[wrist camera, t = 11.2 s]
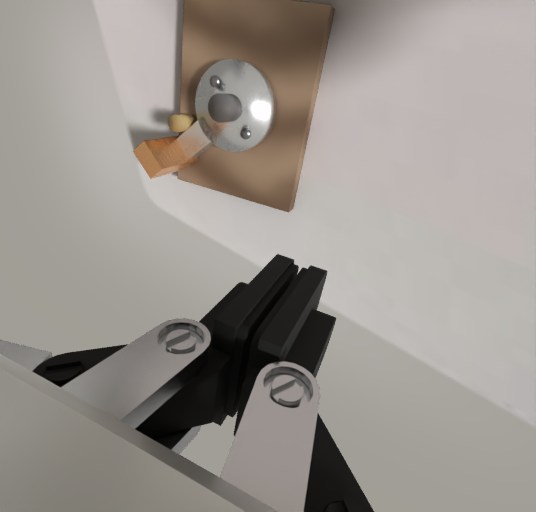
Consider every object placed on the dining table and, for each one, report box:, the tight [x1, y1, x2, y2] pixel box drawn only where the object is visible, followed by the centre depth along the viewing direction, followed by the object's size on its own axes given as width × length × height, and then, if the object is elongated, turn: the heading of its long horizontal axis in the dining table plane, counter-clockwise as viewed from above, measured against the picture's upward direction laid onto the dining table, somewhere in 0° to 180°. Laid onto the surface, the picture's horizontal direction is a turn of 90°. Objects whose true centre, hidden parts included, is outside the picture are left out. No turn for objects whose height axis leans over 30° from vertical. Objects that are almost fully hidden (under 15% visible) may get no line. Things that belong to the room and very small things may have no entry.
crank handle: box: [133, 59, 277, 178], centre depth 32 cm, size 13×8×6 cm, turn 124°
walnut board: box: [169, 0, 335, 212], centre depth 32 cm, size 18×14×6 cm
